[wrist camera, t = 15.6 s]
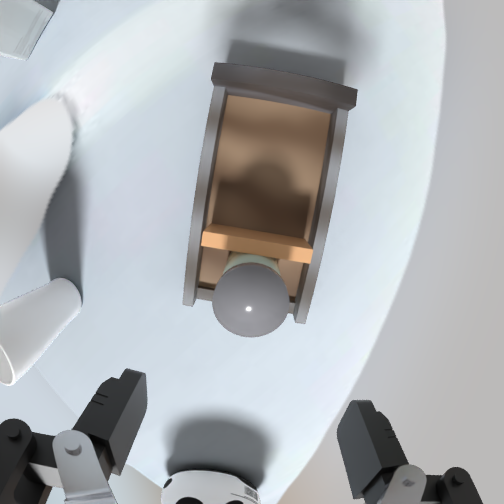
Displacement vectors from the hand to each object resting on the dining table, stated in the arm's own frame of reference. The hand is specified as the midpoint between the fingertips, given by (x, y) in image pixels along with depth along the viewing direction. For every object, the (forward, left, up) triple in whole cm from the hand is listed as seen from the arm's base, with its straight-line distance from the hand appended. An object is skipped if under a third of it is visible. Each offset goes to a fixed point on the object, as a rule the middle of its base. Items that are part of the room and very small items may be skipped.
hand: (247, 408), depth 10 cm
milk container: (+44, 0, -20) cm, 48 cm away
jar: (0, 0, -20) cm, 20 cm away
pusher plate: (-3, 0, -19) cm, 19 cm away
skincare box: (-26, -36, -20) cm, 49 cm away
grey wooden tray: (-6, 0, -20) cm, 21 cm away
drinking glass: (+9, -22, -20) cm, 31 cm away
